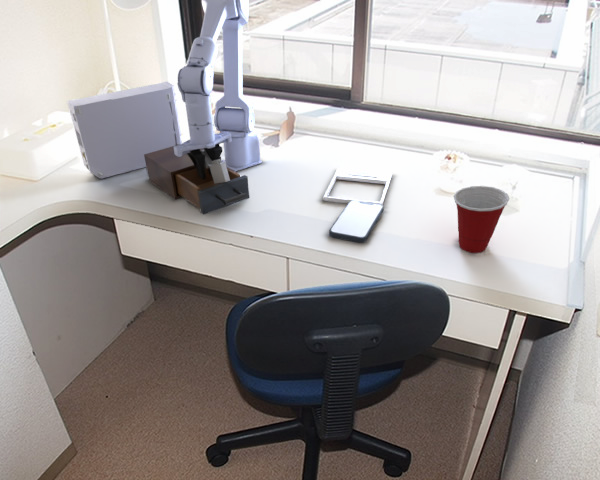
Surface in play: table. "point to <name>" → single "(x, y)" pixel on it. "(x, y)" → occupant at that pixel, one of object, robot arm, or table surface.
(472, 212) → the plastic cup
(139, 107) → the game console
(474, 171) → the table surface
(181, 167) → the cabinet
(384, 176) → the photo frame
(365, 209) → the smartphone
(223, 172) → the lighter
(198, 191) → the drawer
